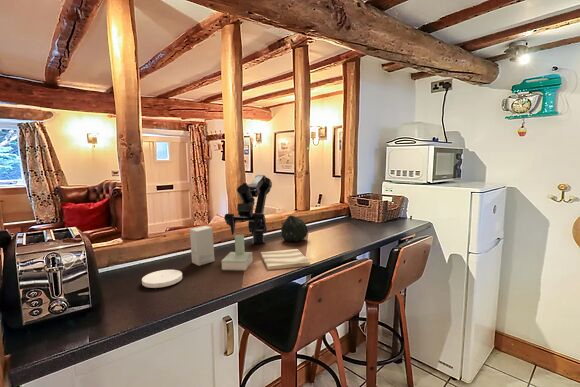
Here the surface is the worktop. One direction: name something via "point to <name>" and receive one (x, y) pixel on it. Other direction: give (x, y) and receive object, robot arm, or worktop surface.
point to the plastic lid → (162, 278)
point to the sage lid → (238, 252)
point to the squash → (294, 229)
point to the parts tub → (237, 265)
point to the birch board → (284, 259)
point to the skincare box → (202, 245)
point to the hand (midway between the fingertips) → (242, 234)
